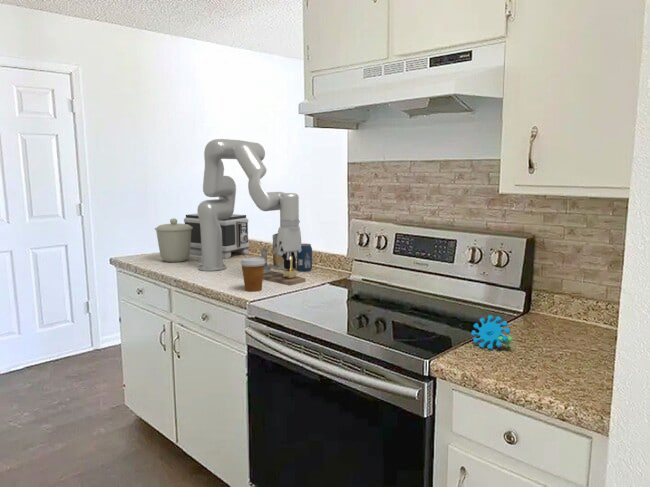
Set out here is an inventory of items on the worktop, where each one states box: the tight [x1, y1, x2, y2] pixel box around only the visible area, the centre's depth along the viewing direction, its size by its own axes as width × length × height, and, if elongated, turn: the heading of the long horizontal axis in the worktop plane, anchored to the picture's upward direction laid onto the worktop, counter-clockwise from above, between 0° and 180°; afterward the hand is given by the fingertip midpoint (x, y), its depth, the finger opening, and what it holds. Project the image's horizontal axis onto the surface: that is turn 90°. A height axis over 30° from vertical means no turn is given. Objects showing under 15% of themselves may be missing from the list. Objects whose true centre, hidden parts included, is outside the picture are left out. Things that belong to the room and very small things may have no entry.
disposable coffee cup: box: [239, 256, 265, 293], centre depth 196 cm, size 10×10×12 cm
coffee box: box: [272, 232, 295, 270], centre depth 235 cm, size 9×6×16 cm
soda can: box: [296, 243, 313, 273], centre depth 231 cm, size 7×7×12 cm
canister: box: [154, 217, 193, 263], centre depth 253 cm, size 18×18×21 cm
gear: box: [471, 314, 514, 350], centre depth 137 cm, size 11×6×10 cm
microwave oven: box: [183, 213, 250, 260], centre depth 272 cm, size 18×34×21 cm, turn 58°
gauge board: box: [260, 248, 306, 286], centre depth 214 cm, size 24×9×12 cm, turn 47°
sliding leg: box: [282, 255, 298, 279], centre depth 209 cm, size 4×6×9 cm, turn 137°
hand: (289, 267), depth 210 cm, fingers closed on sliding leg, 2 cm apart
